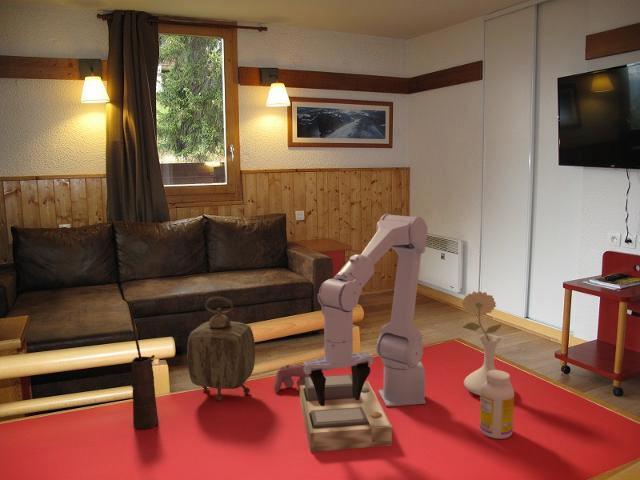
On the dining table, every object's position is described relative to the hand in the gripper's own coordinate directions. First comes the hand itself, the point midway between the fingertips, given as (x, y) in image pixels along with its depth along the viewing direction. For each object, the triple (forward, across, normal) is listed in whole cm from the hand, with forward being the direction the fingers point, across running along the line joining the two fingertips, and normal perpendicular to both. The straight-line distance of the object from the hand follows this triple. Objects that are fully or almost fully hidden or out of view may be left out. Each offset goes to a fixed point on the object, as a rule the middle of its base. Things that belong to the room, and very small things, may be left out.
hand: (338, 401), depth 112 cm
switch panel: (+8, -3, -6) cm, 10 cm away
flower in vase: (+8, -41, -8) cm, 43 cm away
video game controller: (+8, +2, -25) cm, 26 cm away
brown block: (+7, 0, 0) cm, 7 cm away
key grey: (+4, -2, -12) cm, 13 cm away
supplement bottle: (+8, -32, +10) cm, 34 cm away
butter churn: (+8, +37, -20) cm, 43 cm away
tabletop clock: (+8, +20, -26) cm, 34 cm away
